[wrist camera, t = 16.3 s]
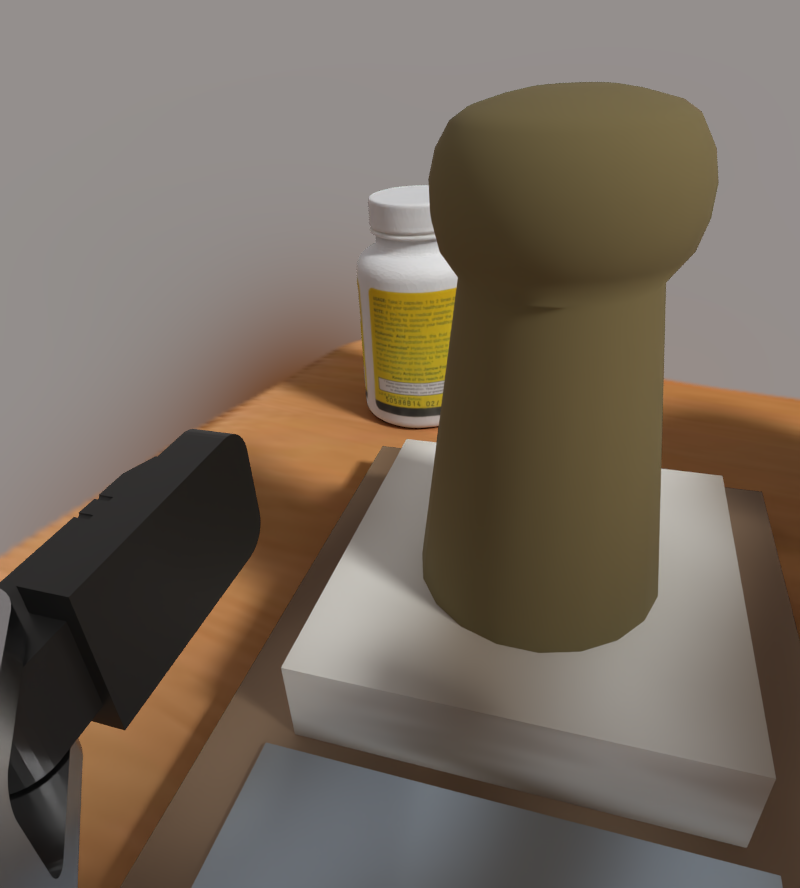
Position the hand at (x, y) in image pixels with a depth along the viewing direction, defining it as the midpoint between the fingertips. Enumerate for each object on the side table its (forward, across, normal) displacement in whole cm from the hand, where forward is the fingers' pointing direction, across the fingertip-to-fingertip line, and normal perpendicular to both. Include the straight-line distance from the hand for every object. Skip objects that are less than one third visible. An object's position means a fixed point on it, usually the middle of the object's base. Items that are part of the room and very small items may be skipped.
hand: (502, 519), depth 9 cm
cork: (+6, 0, +6) cm, 9 cm away
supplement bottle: (+20, +7, +10) cm, 24 cm away
